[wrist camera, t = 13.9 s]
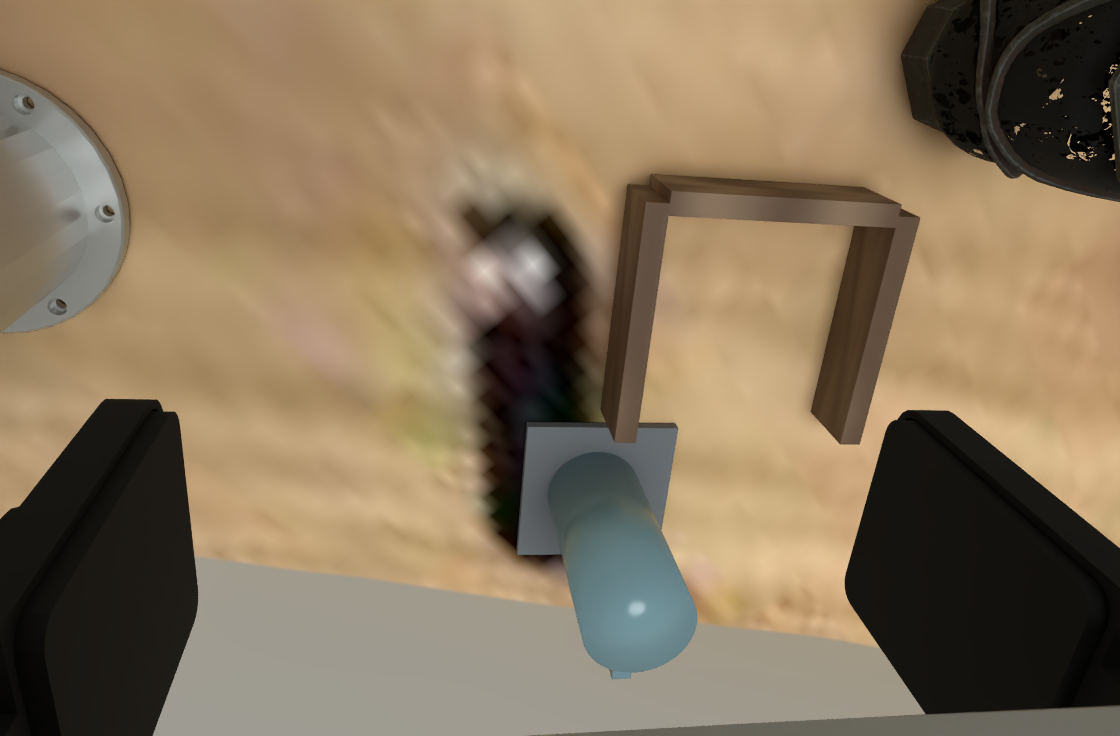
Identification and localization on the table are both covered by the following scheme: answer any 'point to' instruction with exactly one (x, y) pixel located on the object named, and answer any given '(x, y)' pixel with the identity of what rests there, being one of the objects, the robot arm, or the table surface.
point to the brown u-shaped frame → (876, 219)
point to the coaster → (568, 440)
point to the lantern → (1023, 86)
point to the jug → (619, 566)
